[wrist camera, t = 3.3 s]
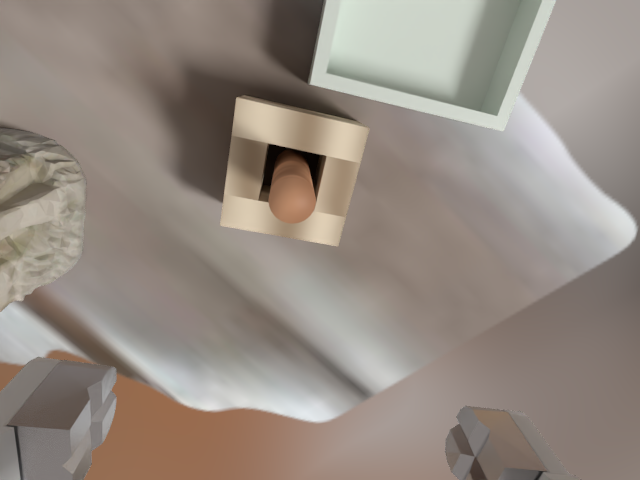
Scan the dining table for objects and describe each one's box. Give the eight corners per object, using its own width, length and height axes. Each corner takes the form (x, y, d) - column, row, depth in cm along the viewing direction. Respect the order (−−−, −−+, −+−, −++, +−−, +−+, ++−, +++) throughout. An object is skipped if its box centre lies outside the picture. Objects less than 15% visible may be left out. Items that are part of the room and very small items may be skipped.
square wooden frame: (229, 206, 34) (220, 225, 30) (244, 95, 31) (236, 97, 26) (332, 225, 36) (338, 246, 31) (358, 121, 32) (369, 128, 28)
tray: (307, 84, 31) (309, 84, 27) (342, -94, 26) (350, -122, 22) (479, 126, 33) (503, 131, 29) (538, -30, 29) (574, -46, 25)
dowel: (272, 177, 34) (265, 218, 24) (278, 145, 32) (273, 173, 22) (304, 184, 34) (310, 227, 24) (311, 152, 33) (320, 183, 23)
